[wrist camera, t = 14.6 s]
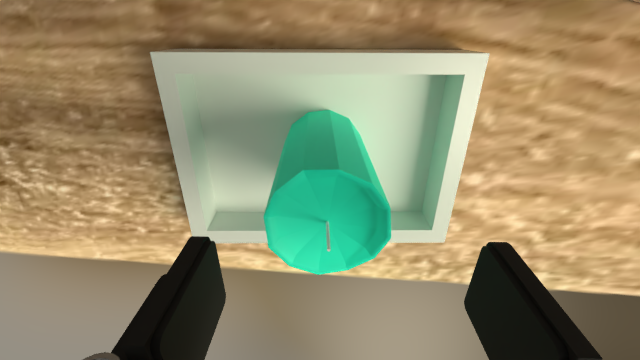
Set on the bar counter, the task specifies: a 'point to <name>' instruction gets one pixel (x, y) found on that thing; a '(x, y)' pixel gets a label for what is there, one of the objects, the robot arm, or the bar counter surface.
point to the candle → (326, 198)
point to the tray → (308, 96)
